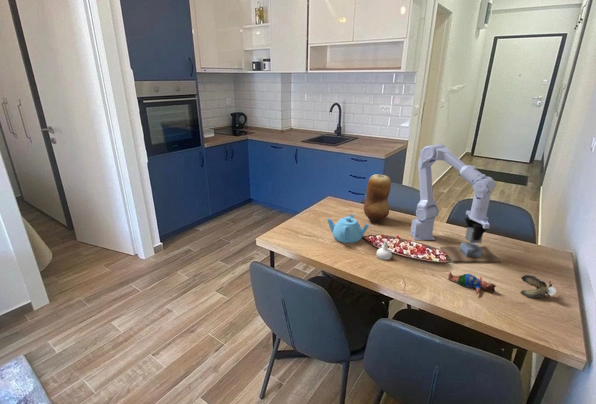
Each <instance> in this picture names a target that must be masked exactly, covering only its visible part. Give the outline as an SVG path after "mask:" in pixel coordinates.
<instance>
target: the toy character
mask: <svg viewBox="0 0 596 404" xmlns="http://www.w3.org/2000/svg"><path fill="white" fill-rule="evenodd" d="M447 280H450V281H454V282H455V283H456V284H457V283H458V284H460V285H461V286H463V287H465V288H470V287H473V288H475V290H476V291H475V293H476V295H478V294H479V292H480V291H481V289H483V290H484V291H485V292H487V293H492V294H493V293H495V291H496V289H495V288H496V287H497V285H495V284H494V283H490V282H487V281H485V280H483V278H482V276H479V278H477V277H476V276H475V275H473V274H471V273H464V274H462V275H461V274H460V275H453V274H452V271H449V273H448V279H447Z"/></svg>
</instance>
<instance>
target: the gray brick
mask: <svg viewBox="0 0 596 404" xmlns="http://www.w3.org/2000/svg"><path fill="white" fill-rule="evenodd" d="M483 235H484V234H483ZM483 235H482V236H481V238H480V240H474V228H473V227H467V226H466V231H465V238H464V239H466V241H468V243H476V244H481V243H482V239H483Z"/></svg>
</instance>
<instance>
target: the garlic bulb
mask: <svg viewBox="0 0 596 404" xmlns="http://www.w3.org/2000/svg"><path fill="white" fill-rule="evenodd" d="M375 254H376V257H377V258H378V259H380V260H383V261H388V260H391V259H392V257H393V256H392V254H393V253H392V251H391V249H389V248H388V240H386V239H384V241H383V246H382V247H380V248H378V249H377V251H376V253H375Z"/></svg>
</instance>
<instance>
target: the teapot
mask: <svg viewBox="0 0 596 404" xmlns="http://www.w3.org/2000/svg"><path fill="white" fill-rule="evenodd" d="M327 223H328V225H329V228H330V231H331V233H332V236H333V238H334V239H335V240H336V241H337V242H339V243H343V244H355V243H357V242H359V241H360V240H361V239H362V238H363V237H364V234H366V231H367V230H368V228H369V227H370V224H369V223H366V224H365V225H364V227H363V228H362V227H361V225H360V224H359V222H358V220H357V219H355V218H354V214H349V216H348V215H347V216H345V217H341V218H339V220H338V221H337V222H336V224H335V222H334V221H333V219H332V218H327Z"/></svg>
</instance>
